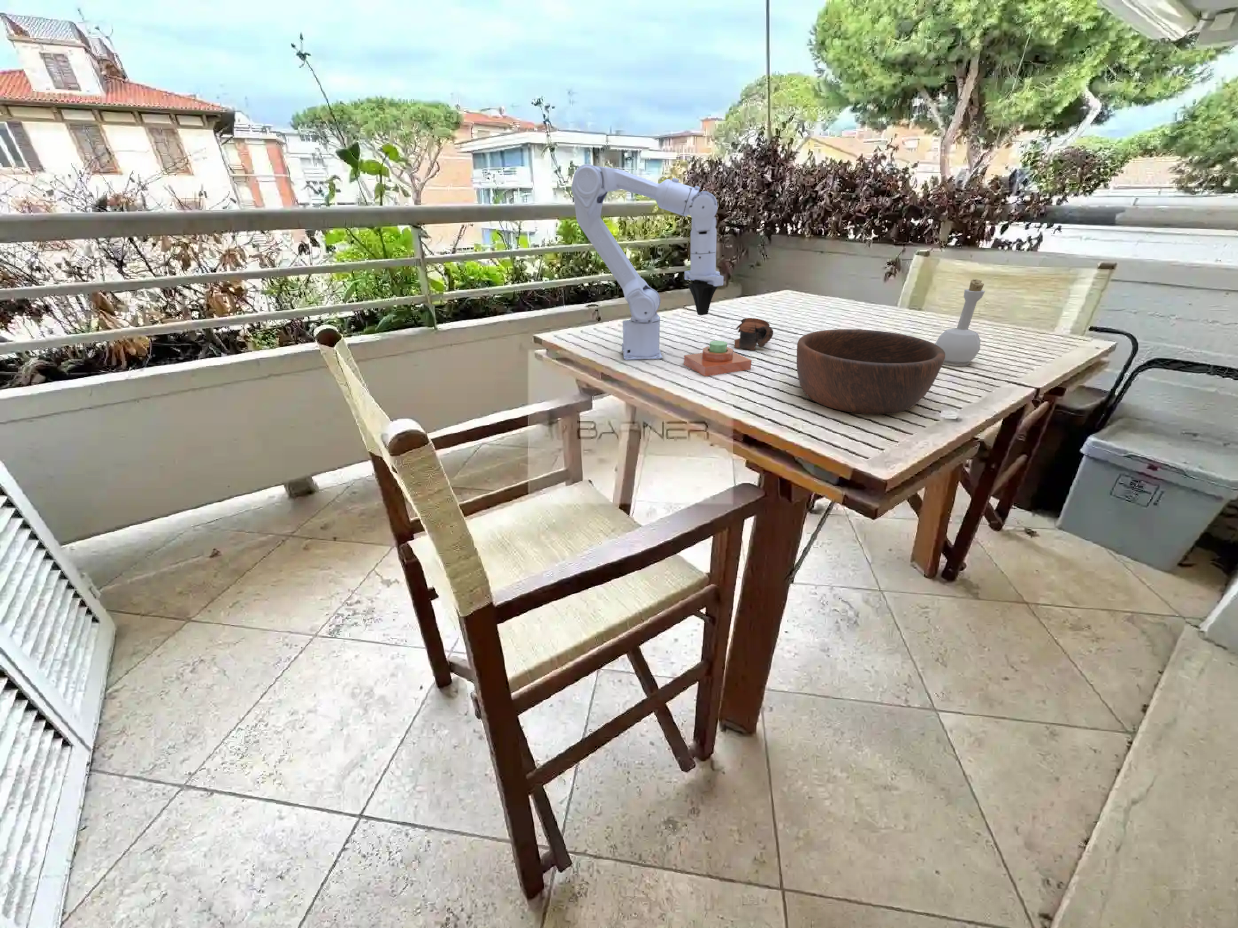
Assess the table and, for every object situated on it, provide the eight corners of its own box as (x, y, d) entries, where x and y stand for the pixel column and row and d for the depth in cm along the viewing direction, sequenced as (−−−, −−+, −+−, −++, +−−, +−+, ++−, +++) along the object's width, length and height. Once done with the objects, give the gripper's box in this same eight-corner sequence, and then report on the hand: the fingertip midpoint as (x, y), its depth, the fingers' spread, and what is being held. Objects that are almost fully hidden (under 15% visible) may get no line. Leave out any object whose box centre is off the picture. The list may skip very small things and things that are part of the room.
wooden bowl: (951, 398, 93) (969, 345, 88) (891, 434, 80) (907, 375, 75) (831, 368, 110) (840, 322, 105) (764, 394, 97) (771, 343, 92)
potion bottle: (961, 356, 116) (987, 277, 107) (982, 367, 108) (1012, 283, 100) (923, 356, 117) (946, 277, 108) (940, 367, 109) (967, 283, 101)
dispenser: (704, 376, 107) (706, 359, 105) (683, 364, 115) (684, 347, 113) (750, 369, 111) (752, 352, 109) (726, 358, 119) (728, 341, 117)
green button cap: (714, 355, 109) (715, 346, 108) (705, 350, 112) (706, 341, 111) (729, 352, 110) (730, 344, 109) (720, 348, 114) (721, 339, 113)
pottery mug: (723, 347, 129) (731, 317, 128) (747, 358, 134) (755, 329, 133) (757, 345, 118) (766, 312, 118) (782, 357, 124) (790, 326, 123)
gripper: (736, 252, 104) (733, 317, 110) (702, 249, 116) (702, 307, 122) (707, 256, 102) (706, 321, 108) (676, 252, 114) (677, 311, 120)
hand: (702, 314), depth 115 cm, fingers closed
